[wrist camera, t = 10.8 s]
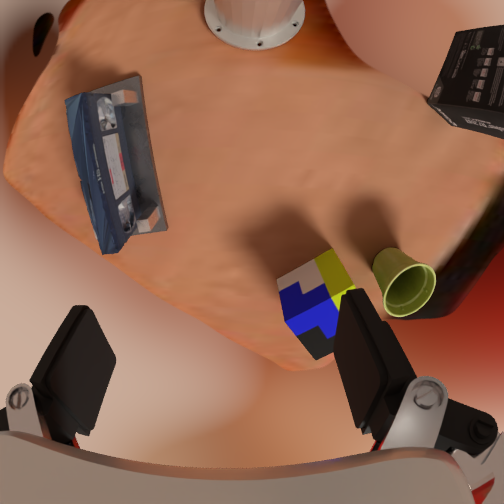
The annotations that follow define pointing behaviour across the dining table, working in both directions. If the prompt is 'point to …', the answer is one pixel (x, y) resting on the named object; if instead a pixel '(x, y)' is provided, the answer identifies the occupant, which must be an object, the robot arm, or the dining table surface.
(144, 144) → the rack
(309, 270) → the puzzle toy
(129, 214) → the vhs cassette tape
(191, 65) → the dining table surface
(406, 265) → the plant pot
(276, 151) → the dining table surface
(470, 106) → the graphics card box
